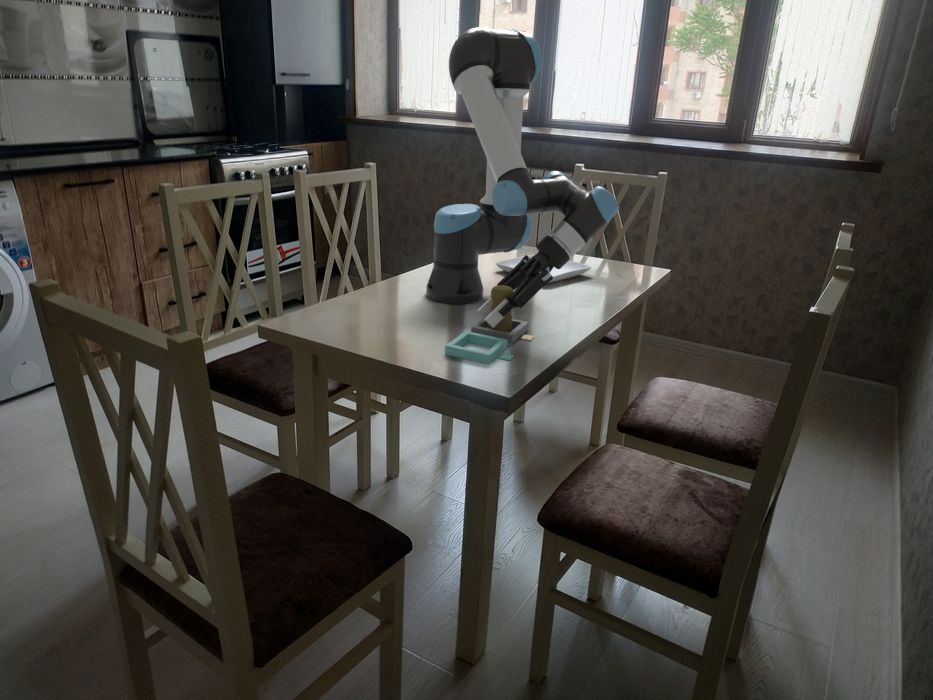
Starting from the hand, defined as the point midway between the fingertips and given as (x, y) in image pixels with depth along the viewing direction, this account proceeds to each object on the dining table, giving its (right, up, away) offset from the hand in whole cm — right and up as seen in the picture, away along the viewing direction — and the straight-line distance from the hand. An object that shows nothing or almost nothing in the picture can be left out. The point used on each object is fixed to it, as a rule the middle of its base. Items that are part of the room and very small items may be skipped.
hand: (485, 318), depth 150 cm
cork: (+3, -3, +2) cm, 5 cm away
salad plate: (+19, +16, +51) cm, 56 cm away
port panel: (+2, -5, -4) cm, 7 cm away
